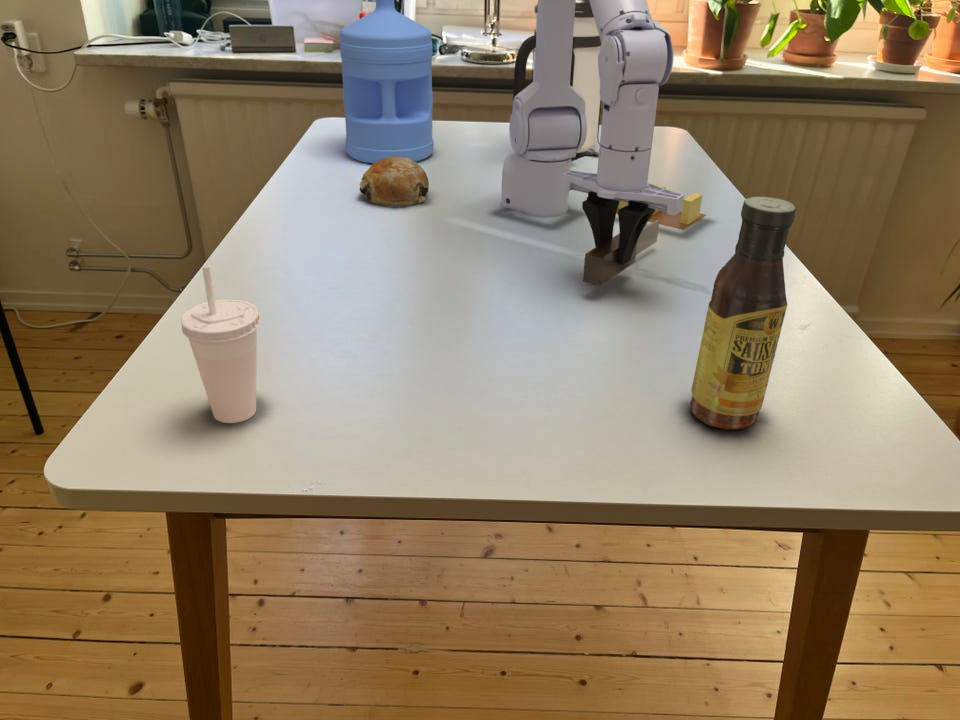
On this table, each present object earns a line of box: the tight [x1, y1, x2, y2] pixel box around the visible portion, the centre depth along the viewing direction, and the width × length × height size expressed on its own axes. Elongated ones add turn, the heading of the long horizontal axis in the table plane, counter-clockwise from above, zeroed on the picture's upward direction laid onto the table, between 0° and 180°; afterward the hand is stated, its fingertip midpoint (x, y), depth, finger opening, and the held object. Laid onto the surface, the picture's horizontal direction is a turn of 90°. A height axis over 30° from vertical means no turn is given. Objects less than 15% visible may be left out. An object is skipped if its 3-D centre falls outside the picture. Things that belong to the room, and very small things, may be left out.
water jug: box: [339, 0, 435, 165], centre depth 140 cm, size 16×16×28 cm
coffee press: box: [512, 0, 603, 157], centre depth 141 cm, size 17×16×30 cm
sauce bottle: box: [689, 196, 797, 431], centre depth 69 cm, size 6×6×20 cm
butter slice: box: [680, 192, 703, 225], centre depth 116 cm, size 1×4×4 cm, turn 144°
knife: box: [582, 220, 660, 287], centre depth 99 cm, size 2×17×4 cm, turn 144°
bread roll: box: [359, 156, 430, 207], centre depth 125 cm, size 10×10×8 cm
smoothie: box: [180, 265, 262, 424], centre depth 70 cm, size 6×6×14 cm
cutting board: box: [616, 209, 707, 231], centre depth 120 cm, size 14×8×1 cm, turn 54°
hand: (613, 259), depth 97 cm, fingers closed on knife, 2 cm apart
